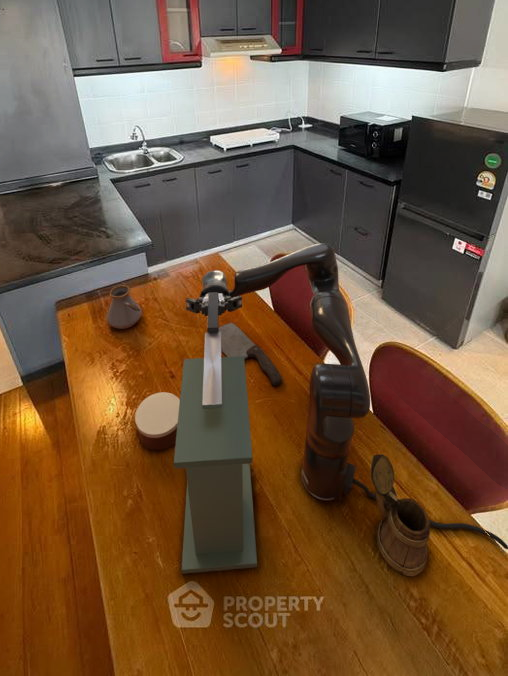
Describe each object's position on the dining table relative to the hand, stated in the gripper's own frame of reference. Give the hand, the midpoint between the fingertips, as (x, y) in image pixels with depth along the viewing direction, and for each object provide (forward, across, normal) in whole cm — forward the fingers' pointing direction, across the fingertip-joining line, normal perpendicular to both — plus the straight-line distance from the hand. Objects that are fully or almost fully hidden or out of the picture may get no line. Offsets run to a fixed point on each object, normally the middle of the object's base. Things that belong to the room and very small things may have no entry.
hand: (213, 310), depth 79 cm
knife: (+5, 0, +6) cm, 7 cm away
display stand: (-4, 0, +42) cm, 42 cm away
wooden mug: (+2, +34, +46) cm, 57 cm away
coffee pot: (-52, -29, +15) cm, 61 cm away
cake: (-20, -14, +33) cm, 41 cm away
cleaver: (-40, +8, +22) cm, 46 cm away
